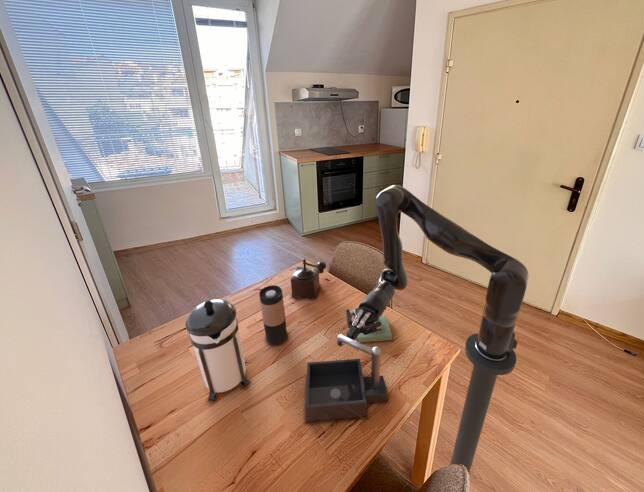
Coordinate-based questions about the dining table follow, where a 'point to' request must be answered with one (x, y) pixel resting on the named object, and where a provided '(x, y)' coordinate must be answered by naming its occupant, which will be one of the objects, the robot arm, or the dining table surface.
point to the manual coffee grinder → (306, 280)
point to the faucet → (372, 351)
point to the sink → (339, 390)
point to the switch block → (378, 332)
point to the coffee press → (217, 345)
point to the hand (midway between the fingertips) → (349, 338)
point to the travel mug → (273, 314)
